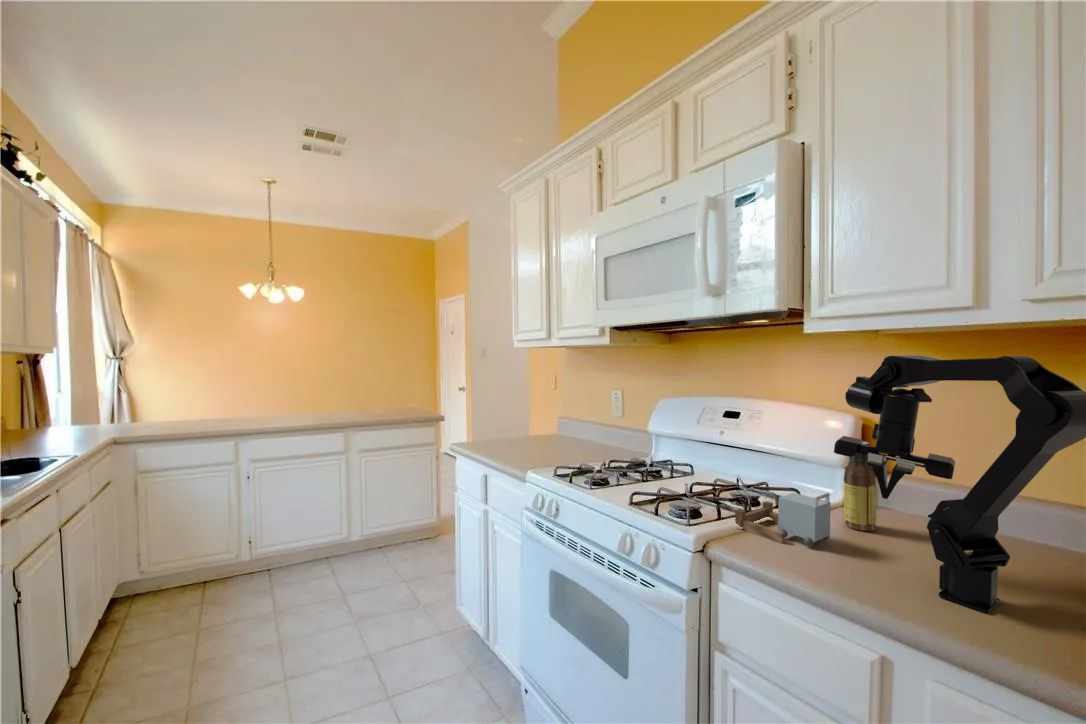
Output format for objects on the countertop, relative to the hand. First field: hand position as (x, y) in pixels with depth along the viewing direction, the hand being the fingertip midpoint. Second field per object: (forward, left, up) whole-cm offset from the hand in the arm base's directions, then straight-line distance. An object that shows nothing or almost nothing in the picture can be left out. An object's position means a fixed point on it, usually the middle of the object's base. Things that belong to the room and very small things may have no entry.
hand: (885, 498), depth 98 cm
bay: (+22, +3, -12) cm, 25 cm away
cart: (+14, +3, -12) cm, 19 cm away
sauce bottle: (+11, -15, -13) cm, 22 cm away
